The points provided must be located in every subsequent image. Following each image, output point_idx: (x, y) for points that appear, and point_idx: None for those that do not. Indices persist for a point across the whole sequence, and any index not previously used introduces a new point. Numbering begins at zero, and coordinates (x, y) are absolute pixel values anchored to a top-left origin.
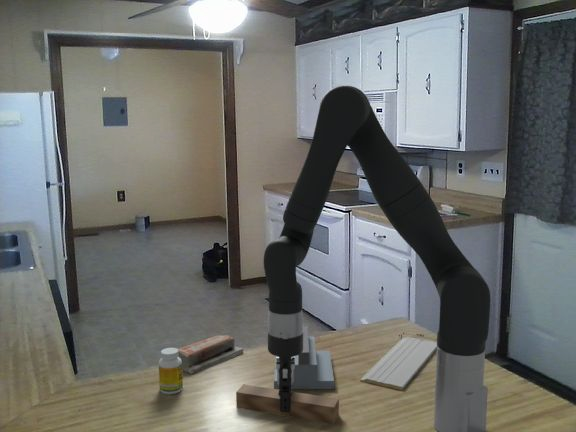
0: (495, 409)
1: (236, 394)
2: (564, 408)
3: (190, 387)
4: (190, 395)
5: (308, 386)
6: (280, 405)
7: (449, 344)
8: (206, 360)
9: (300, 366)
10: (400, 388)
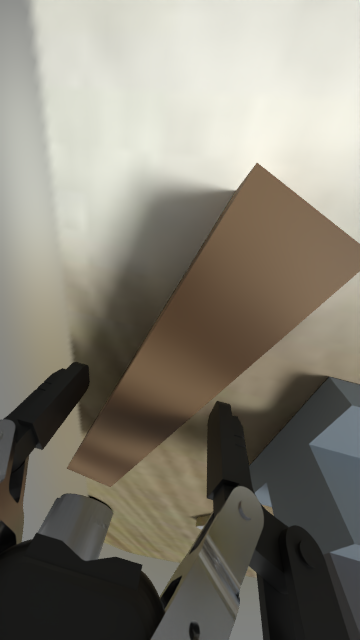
0: (127, 532)
1: (250, 172)
2: (124, 549)
3: None
4: None
5: (272, 451)
6: (57, 379)
7: None
8: None
9: (318, 541)
10: (198, 521)
